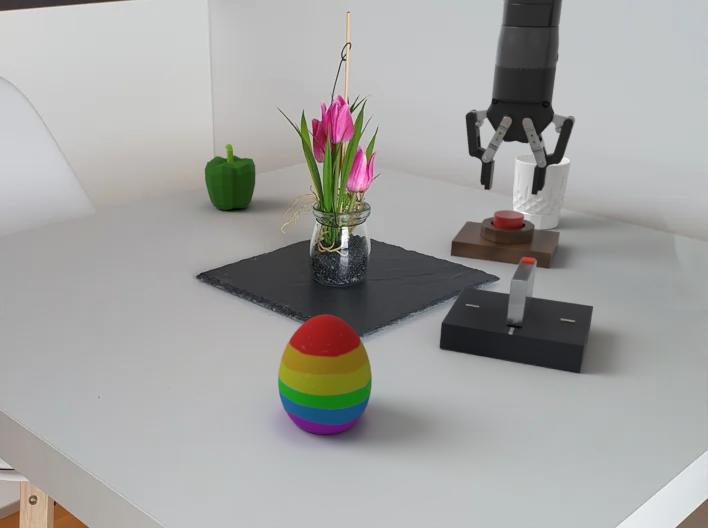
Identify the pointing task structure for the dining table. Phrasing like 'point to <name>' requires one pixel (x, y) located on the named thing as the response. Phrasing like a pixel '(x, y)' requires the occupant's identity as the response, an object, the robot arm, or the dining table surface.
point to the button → (508, 219)
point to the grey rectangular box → (521, 291)
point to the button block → (505, 243)
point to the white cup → (549, 200)
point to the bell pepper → (230, 181)
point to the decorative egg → (325, 376)
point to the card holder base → (518, 330)
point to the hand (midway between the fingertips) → (511, 190)
